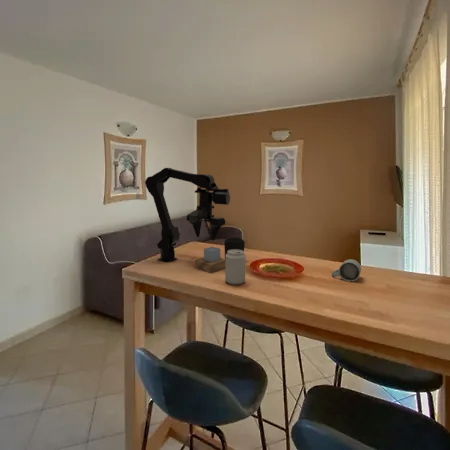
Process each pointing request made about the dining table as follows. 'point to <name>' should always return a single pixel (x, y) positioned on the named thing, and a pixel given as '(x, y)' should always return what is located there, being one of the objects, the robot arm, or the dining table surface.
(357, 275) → the ceramic mug
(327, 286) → the dining table surface
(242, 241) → the pen holder
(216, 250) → the cube
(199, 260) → the walnut block
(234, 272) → the can
